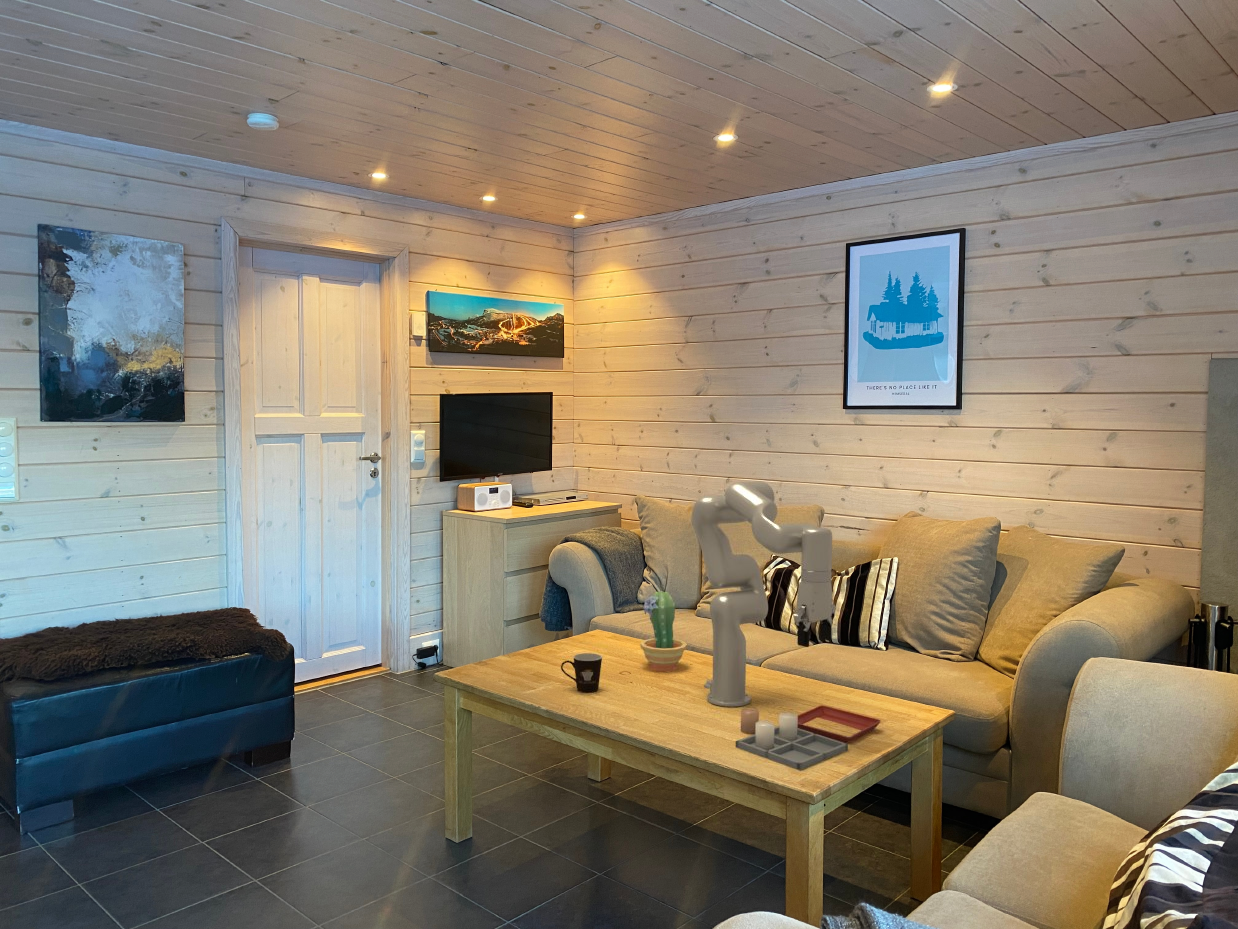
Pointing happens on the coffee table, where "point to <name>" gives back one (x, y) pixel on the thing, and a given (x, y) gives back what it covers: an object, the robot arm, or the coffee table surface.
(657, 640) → the potted cactus
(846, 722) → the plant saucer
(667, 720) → the coffee table surface
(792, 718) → the cream rounded cylinder
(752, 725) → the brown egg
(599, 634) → the coffee table surface
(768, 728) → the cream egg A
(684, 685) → the coffee table surface
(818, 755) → the gray divided tray
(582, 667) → the coffee mug
